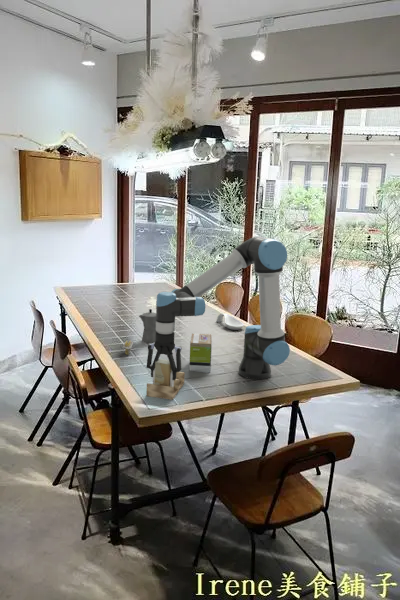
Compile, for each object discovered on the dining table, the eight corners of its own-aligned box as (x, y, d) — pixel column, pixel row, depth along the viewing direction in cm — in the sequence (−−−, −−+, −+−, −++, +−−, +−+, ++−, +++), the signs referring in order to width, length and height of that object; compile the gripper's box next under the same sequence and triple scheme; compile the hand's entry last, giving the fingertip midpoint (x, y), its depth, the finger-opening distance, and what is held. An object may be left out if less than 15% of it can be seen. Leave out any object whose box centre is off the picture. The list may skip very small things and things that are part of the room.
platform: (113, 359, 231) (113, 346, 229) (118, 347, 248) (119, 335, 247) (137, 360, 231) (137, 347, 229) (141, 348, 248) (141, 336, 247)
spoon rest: (247, 330, 291) (248, 319, 289) (231, 332, 285) (232, 321, 283) (226, 321, 311) (226, 310, 309) (211, 322, 305) (211, 312, 303)
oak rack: (184, 385, 202) (184, 372, 201) (172, 402, 186) (173, 387, 184) (159, 382, 204) (160, 369, 203) (146, 398, 188) (146, 384, 187)
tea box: (190, 361, 232) (191, 332, 229) (210, 362, 232) (212, 333, 229) (188, 372, 217) (190, 342, 214) (210, 373, 217) (212, 343, 214)
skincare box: (153, 390, 190) (154, 361, 187) (158, 386, 194) (158, 358, 191) (168, 393, 188) (169, 364, 185) (172, 389, 192) (173, 360, 189)
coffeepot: (141, 344, 254) (142, 312, 250) (135, 339, 262) (136, 308, 258) (167, 341, 261) (168, 310, 257) (161, 336, 269) (162, 306, 265)
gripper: (191, 331, 187) (188, 385, 192) (144, 326, 191) (143, 379, 196) (186, 336, 180) (184, 392, 185) (138, 331, 184) (137, 386, 189)
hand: (163, 385), depth 190 cm, fingers closed on skincare box, 6 cm apart
